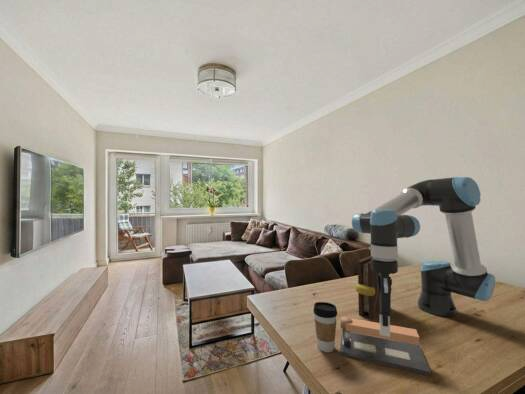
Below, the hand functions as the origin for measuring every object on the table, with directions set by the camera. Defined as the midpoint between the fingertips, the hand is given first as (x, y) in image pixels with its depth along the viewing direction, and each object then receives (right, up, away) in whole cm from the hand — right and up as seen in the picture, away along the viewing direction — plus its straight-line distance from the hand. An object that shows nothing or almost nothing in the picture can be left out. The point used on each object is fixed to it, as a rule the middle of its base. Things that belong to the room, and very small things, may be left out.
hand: (384, 334), depth 72 cm
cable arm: (+2, -4, +8) cm, 9 cm away
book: (+15, -12, +39) cm, 44 cm away
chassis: (+3, -11, +9) cm, 15 cm away
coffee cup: (-15, -12, +12) cm, 23 cm away
